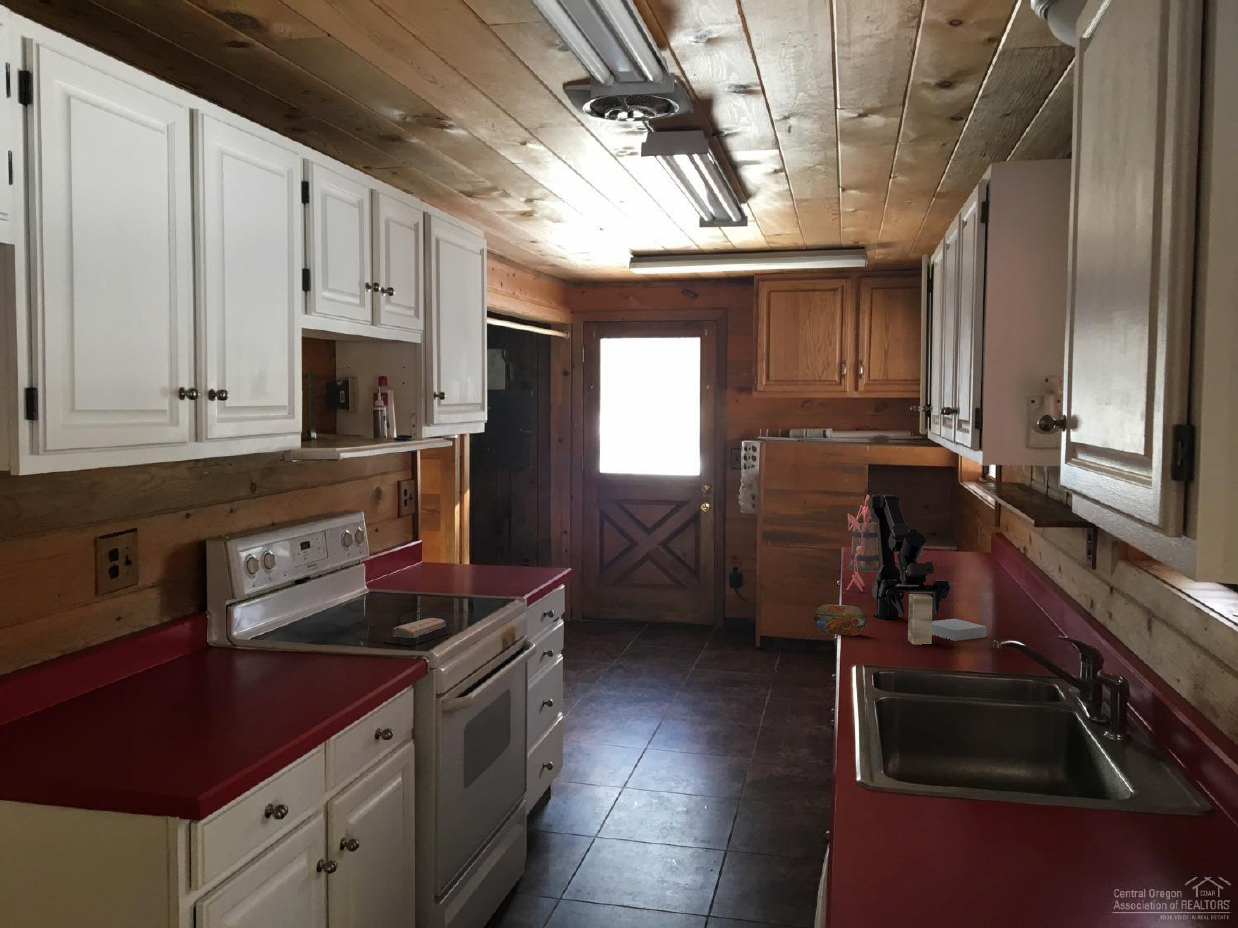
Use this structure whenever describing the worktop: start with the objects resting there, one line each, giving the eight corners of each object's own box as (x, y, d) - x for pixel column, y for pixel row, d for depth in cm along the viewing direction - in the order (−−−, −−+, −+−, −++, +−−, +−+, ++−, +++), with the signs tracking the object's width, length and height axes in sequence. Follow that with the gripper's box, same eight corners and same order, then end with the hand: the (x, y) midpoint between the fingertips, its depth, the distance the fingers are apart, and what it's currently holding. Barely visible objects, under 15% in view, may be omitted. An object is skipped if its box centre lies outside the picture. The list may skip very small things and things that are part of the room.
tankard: (844, 572, 387) (845, 523, 386) (845, 566, 403) (846, 519, 402) (904, 574, 381) (905, 525, 380) (903, 568, 397) (904, 521, 396)
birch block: (908, 640, 265) (908, 594, 264) (926, 640, 265) (926, 594, 264) (913, 644, 260) (914, 597, 259) (931, 644, 260) (932, 597, 259)
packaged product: (424, 615, 275) (452, 618, 271) (424, 631, 275) (452, 635, 271) (383, 626, 259) (411, 630, 255) (383, 644, 259) (411, 648, 255)
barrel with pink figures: (840, 594, 334) (844, 496, 333) (849, 583, 359) (852, 491, 357) (885, 598, 329) (889, 498, 328) (891, 587, 353) (895, 493, 352)
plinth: (923, 632, 275) (923, 622, 274) (954, 628, 280) (954, 618, 280) (954, 640, 264) (955, 630, 264) (986, 636, 269) (986, 626, 269)
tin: (813, 632, 275) (813, 603, 274) (816, 630, 278) (816, 601, 277) (865, 637, 268) (865, 608, 267) (867, 635, 271) (868, 606, 270)
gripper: (882, 551, 267) (892, 597, 256) (948, 551, 266) (961, 597, 256) (874, 574, 275) (884, 620, 264) (939, 575, 274) (951, 620, 264)
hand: (920, 614), depth 262 cm, fingers open, 9 cm apart
